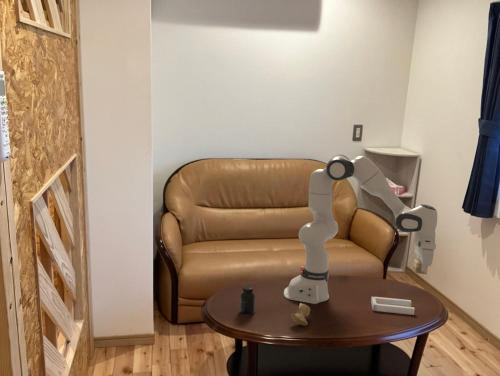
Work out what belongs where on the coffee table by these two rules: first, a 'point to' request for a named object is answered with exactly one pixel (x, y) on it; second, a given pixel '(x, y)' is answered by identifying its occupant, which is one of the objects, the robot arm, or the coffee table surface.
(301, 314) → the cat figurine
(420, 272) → the block
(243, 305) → the supplement bottle
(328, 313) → the coffee table surface
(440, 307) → the coffee table surface
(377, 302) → the channel
